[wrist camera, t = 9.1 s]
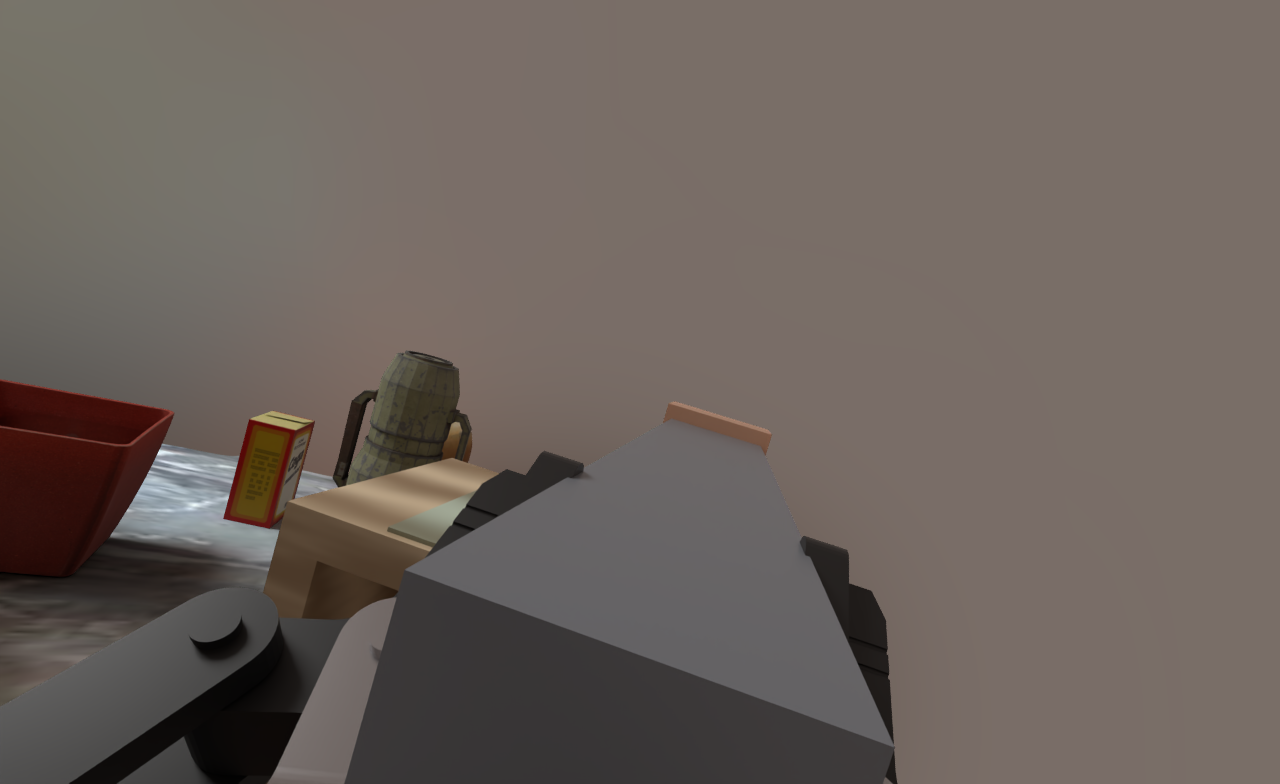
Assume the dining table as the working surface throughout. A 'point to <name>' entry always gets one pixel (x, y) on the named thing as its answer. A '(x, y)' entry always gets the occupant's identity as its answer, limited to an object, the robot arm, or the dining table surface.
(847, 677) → the gray rectangular bar
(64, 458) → the plant pot
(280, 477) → the baking soda box
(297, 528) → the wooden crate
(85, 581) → the dining table surface
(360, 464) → the thermos
